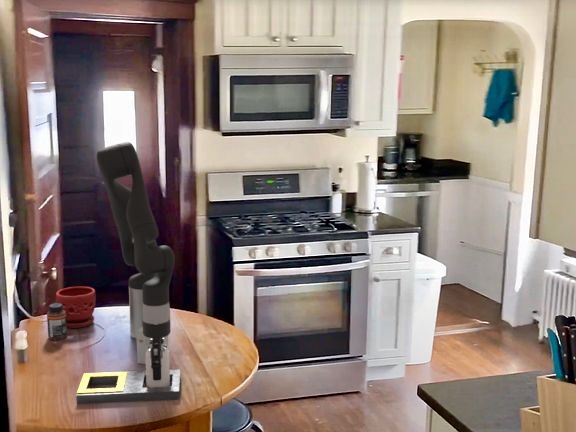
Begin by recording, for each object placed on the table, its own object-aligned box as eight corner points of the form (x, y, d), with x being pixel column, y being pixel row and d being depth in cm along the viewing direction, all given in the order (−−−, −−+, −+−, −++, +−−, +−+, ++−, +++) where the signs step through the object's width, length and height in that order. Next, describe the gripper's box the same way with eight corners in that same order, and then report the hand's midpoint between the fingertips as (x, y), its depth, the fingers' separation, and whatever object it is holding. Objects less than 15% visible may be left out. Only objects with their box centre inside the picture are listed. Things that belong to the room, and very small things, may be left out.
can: (164, 394, 193) (164, 353, 191) (142, 392, 195) (141, 351, 192) (173, 384, 200) (172, 344, 197) (151, 382, 201) (150, 342, 198)
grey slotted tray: (180, 377, 204) (180, 368, 204) (179, 399, 191) (178, 390, 190) (84, 381, 201) (84, 372, 201) (76, 404, 188) (76, 394, 187)
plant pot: (104, 323, 247) (102, 290, 244) (70, 333, 237) (69, 299, 234) (83, 314, 255) (81, 282, 252) (50, 323, 245) (48, 290, 243)
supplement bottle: (50, 334, 236) (48, 302, 233) (68, 333, 236) (67, 301, 234) (46, 341, 230) (44, 308, 228) (64, 340, 230) (63, 307, 228)
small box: (169, 360, 216) (168, 327, 214) (160, 367, 211) (159, 334, 209) (146, 356, 219) (145, 324, 217) (136, 363, 214) (135, 330, 212)
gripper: (144, 309, 199) (146, 364, 203) (140, 327, 185) (142, 386, 189) (171, 308, 200) (172, 363, 204) (169, 326, 186) (170, 385, 190)
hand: (157, 374), depth 196 cm, fingers closed on can, 6 cm apart
